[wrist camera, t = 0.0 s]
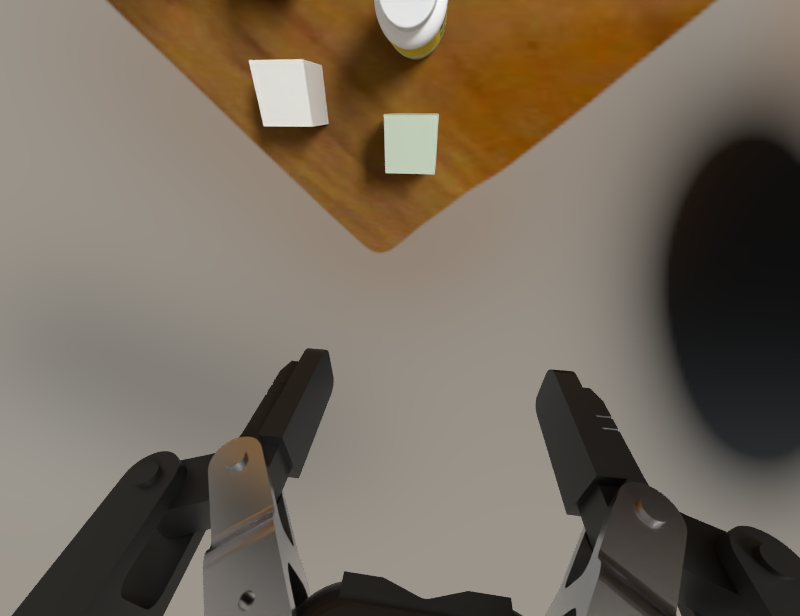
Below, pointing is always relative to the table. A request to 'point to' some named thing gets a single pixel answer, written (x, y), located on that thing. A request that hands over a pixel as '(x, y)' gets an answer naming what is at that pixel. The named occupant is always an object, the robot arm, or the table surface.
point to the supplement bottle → (412, 25)
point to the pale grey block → (290, 92)
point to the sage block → (410, 142)
